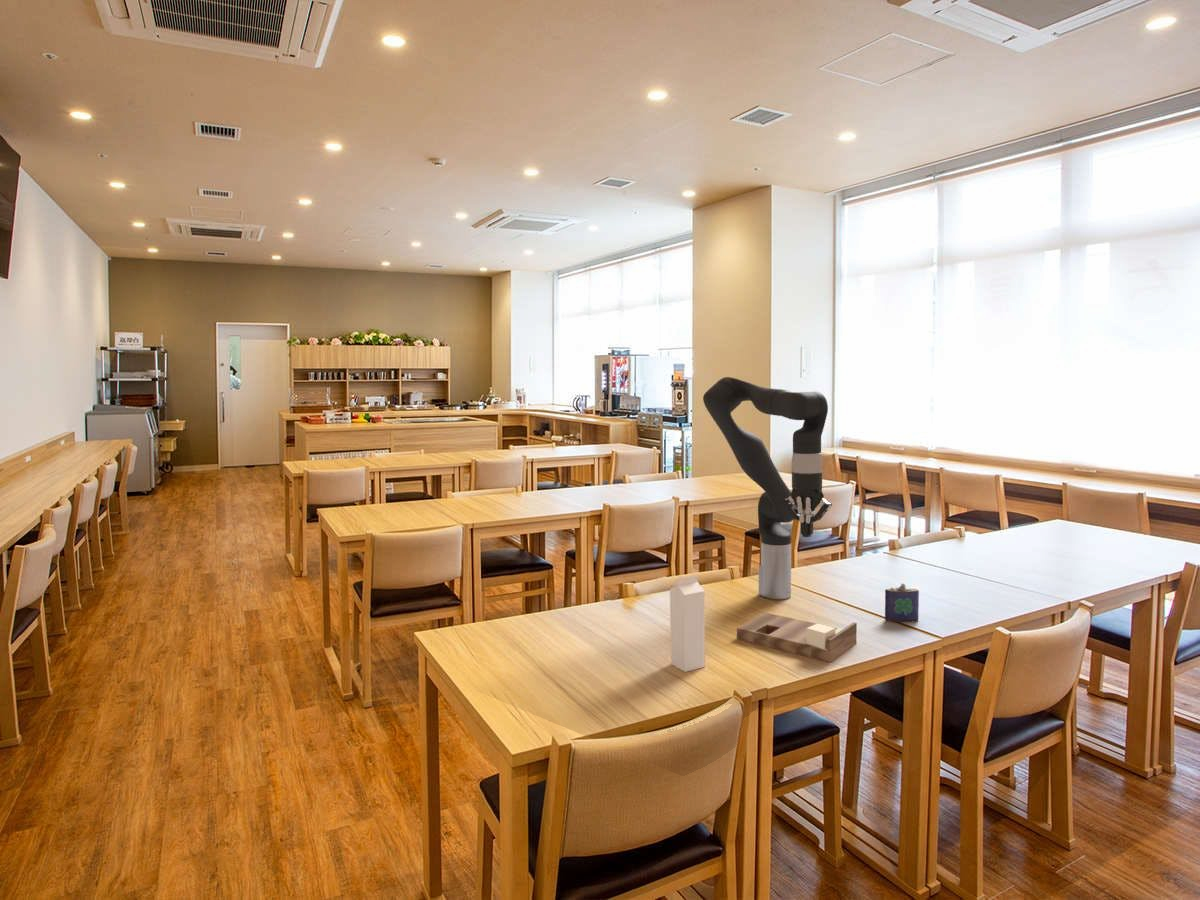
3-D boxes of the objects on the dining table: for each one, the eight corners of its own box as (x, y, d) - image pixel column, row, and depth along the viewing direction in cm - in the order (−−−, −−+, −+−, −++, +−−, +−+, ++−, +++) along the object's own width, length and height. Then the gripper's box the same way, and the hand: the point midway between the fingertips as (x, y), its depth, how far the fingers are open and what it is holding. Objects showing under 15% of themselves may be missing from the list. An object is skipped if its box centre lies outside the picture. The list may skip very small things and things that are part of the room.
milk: (705, 667, 177) (705, 578, 175) (684, 672, 174) (684, 582, 172) (690, 659, 182) (690, 572, 180) (670, 664, 179) (669, 576, 177)
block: (806, 643, 183) (806, 628, 182) (817, 638, 186) (817, 623, 186) (824, 649, 179) (824, 633, 179) (835, 643, 182) (835, 628, 182)
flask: (916, 618, 208) (917, 582, 207) (920, 622, 205) (921, 585, 204) (883, 619, 209) (884, 582, 208) (887, 622, 206) (887, 585, 205)
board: (736, 638, 195) (736, 618, 195) (766, 622, 207) (766, 604, 207) (830, 662, 178) (830, 640, 178) (856, 643, 190) (856, 622, 190)
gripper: (776, 470, 189) (776, 536, 191) (825, 473, 180) (825, 542, 182) (789, 466, 195) (789, 531, 196) (837, 470, 186) (837, 537, 188)
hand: (806, 536), depth 189 cm, fingers closed
